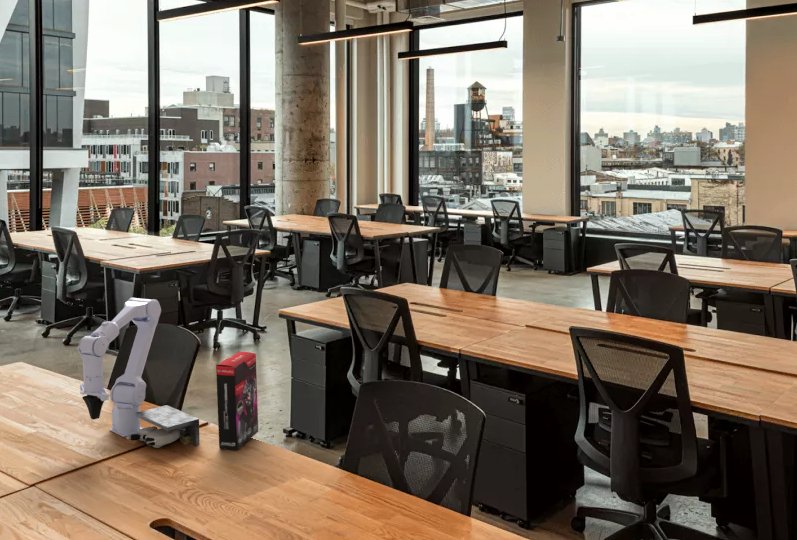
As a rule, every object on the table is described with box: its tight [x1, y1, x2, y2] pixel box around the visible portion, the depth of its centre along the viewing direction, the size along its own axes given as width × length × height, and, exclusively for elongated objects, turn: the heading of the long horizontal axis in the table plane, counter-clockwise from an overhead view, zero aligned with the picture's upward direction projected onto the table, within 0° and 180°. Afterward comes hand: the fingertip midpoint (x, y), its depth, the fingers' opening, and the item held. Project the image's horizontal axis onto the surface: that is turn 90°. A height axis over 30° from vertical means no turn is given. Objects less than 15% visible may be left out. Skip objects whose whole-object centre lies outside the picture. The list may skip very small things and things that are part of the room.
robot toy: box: [125, 425, 185, 449], centre depth 236 cm, size 12×4×15 cm
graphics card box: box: [215, 350, 259, 451], centre depth 237 cm, size 17×7×27 cm, turn 168°
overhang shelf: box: [136, 404, 201, 446], centre depth 237 cm, size 19×11×8 cm, turn 48°
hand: (95, 418), depth 229 cm, fingers closed
